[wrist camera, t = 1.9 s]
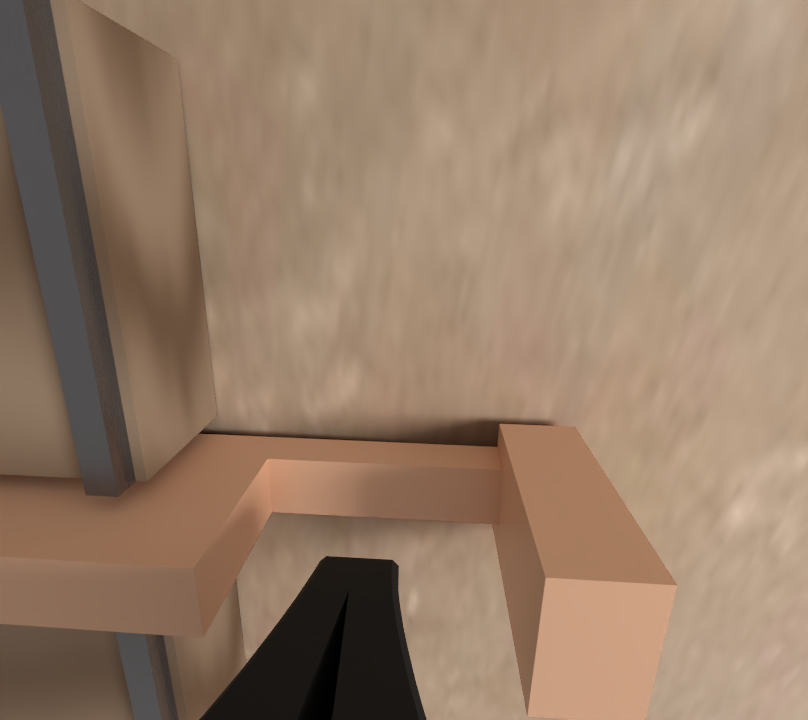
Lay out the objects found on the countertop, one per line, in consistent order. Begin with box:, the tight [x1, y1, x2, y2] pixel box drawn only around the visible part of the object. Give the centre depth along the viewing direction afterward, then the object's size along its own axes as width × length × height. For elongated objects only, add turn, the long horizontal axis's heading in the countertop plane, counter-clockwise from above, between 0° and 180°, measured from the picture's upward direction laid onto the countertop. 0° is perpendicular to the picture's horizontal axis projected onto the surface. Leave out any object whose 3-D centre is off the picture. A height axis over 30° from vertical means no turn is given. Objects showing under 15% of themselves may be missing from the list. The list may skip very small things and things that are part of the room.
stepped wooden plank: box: [0, 424, 677, 720], centre depth 11 cm, size 3×23×6 cm, turn 89°
